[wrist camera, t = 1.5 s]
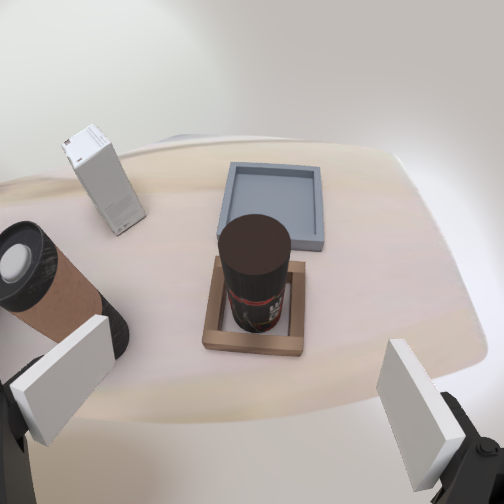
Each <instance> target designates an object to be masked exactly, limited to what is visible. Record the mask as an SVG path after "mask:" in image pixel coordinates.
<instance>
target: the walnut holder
mask: <svg viewBox="0 0 504 504" xmlns="http://www.w3.org/2000/svg"><path fill="white" fill-rule="evenodd" d="M286 283H291V289H290V311H289V330H288V336H274V335H260V334H247V333H236V332H225V331H221V328H222V321H223V313H224V306H225V299H226V292H227V287H226V282H225V278H224V273H223V268H222V264H221V259H220V256H216V257H215V263H214V269H213V275H212V281H211V287H210V293H209V299H208V305H207V311H206V318H205V324H204V330H203V337H202V343H203V345H204V346H205V348H206V349H212V350H222V351H231V352H242V353H254V354H267V355H282V356H300V355H301V353H302V351H303V340H304V311H305V262H300V261H289V265H288V272H287V278H286Z"/></svg>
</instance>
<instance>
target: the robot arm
mask: <svg viewBox="0 0 504 504" xmlns="http://www.w3.org/2000/svg"><path fill="white" fill-rule="evenodd" d="M115 365H116V362H115V357H114V351H113V345H112V339H111V333H110V326H109V319H108V316H102V315H96V314H95V315H94V316H93V317H92V318H90V319H89V320H88V321H86V322H85V323H84V324H83V325H81V326H80V327H79V328H78V329H76V330H75V331H74V332H73V333H71V334H70V335H69V336H68V337H66V338H65V339H64V340H63V341H62V342H60V343H59V344H58V345H57V346H55V347H54V348H53V349H52V350H51V351H49V352H48V353H47V354H46V355H42V356H40V357H38V358H35V359H33V360H32V361H31V362H30V363H29V364H27V366H25V367H24V368H23V369H21V371H19V372H18V373H17V374H15V375H14V376H13V377H12V378H11V379H9V380H8V381H7V382H6V383H5V384H3V385H2V383H1V380H0V504H37V503H36V498H35V493H34V488H33V482H32V476H31V470H30V462H29V454H28V445H27V439H26V437H25V433H26V432H27V431H28V430H29V431H30V433H31V435H32V437H33V439H34V440H35V441H37V442H39V443H41V444H43V445H45V446H47V447H48V446H49V444H50V443H51V442H52V441H53V440H54V438H55V437H56V436H57V435H58V433H59V432H60V431H61V430H62V429H63V427H64V426H65V425H66V423H67V422H68V421H69V420H70V419H71V417H72V416H73V415H74V414H75V413H76V411H77V410H78V409H79V408H80V406H81V405H82V404H83V403H84V402H85V400H86V399H87V398H88V397H89V396H90V394H91V393H92V392H93V391H94V390H95V388H96V387H97V386H98V385H99V384H100V382H101V381H102V380H103V379H104V378H105V376H106V375H107V374H108V373H109V372H110V370H111V369H112V368H113V367H114V366H115ZM376 389H377V391H378V394H379V396H380V399H381V401H382V404H383V407H384V409H385V412H386V414H387V417H388V420H389V422H390V425H391V428H392V430H393V433H394V436H395V439H396V441H397V444H398V447H399V449H400V453H401V455H402V458H403V461H404V464H405V467H406V470H407V473H408V476H409V479H410V482H411V485H412V488H413V491H414V492H417V491H421V490H426V489H431V488H433V487H434V485H435V484H436V482H437V481H438V479H439V478H440V480H441V483H442V487H441V489H440V490H439V491H438V493H437V494H436V495H435V497H434V498H433V499H432V500H431V503H432V504H504V448H500V446H499V444H498V443H497V442H495V441H494V440H492V439H490V438H487V437H481V436H480V435H479V433H478V432H477V430H476V428H475V427H474V425H473V424H472V422H471V421H470V419H469V418H468V416H467V415H466V413H465V411H464V410H463V409H462V408H461V405H460V404H459V402H458V401H457V399H456V398H455V397H453V396H452V395H451V394H449V393H448V392H441V393H439V391H438V390H437V388H436V386H435V385H434V383H433V382H432V380H431V379H430V377H429V376H428V374H427V373H426V371H425V370H424V368H423V366H422V365H421V363H420V362H419V360H418V359H417V358H416V356H415V355H414V353H413V352H412V350H411V349H410V347H409V346H408V344H407V343H406V341H405V340H404V339H389V341H388V345H387V349H386V353H385V357H384V361H383V365H382V368H381V372H380V376H379V379H378V383H377V386H376Z"/></svg>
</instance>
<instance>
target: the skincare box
mask: <svg viewBox="0 0 504 504" xmlns="http://www.w3.org/2000/svg"><path fill="white" fill-rule="evenodd" d="M61 146H62V148H63V150H64V152H65V154H66V156H67V158H68V160H69V162H70V164H71V165H72V167H73V169H74V171H75V173H76V175H77V177H78V179H79V180H80V182H81V184H82V185H83V187H84V189H85V190H86V192H87V194H88V195H89V197H90V199H91V200H92V202H93V204H94V205H95V207H96V208H97V210H98V211H99V213H100V214H101V216H102V217H103V218H104V220H105V221H106V222H107V224H108V225H109V226H110V228H111V229H112V230H113V232H114V233H115V235H116V236H118V235H119V234H121V233H122V232H123V231H125V230H126V229H128V228H129V227H131V226H132V225H134V224H135V223H137V222H138V221H140V220H141V219H143V218H144V217H145V216H146V214H145V212H144V210H143V208H142V206H141V204H140V202H139V200H138V198H137V196H136V194H135V192H134V190H133V188H132V186H131V184H130V182H129V180H128V178H127V176H126V174H125V172H124V170H123V168H122V165H121V163H120V161H119V159H118V157H117V155H116V153H115V150H114V148H113V146H112V143H111V142H110V140H109V139H108V138H107V137H106V136H105V135H104V134H103V133H102V131H101V130H99V128H98V127H97V126H96V125H95V124H94V123H92V124H91V125H89V126H87V127H86V128H84V129H83V130H81V131H80V132H78V133H77V134H75V135H74V136H72V137H71V138H69V139H68V140H67V141H65V142H64V143H63V144H61Z"/></svg>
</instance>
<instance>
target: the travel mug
mask: <svg viewBox="0 0 504 504" xmlns="http://www.w3.org/2000/svg"><path fill="white" fill-rule="evenodd" d="M0 306H2V307H3V308H5V309H6V310H7V311H9V312H10V313H12V314H13V315H15V316H16V317H17V318H19V319H20V320H22V321H23V322H25V323H26V324H28V325H29V326H31V327H32V328H34V329H36V330H37V331H39V332H40V333H42V334H43V335H45V336H47V337H48V338H50V339H52V340H53V341H55V342H57V343H58V344H59V343H60V342H62V341H63V340H64V339H65V338H66V337H68V336H69V335H70V334H71V333H73V332H74V331H75V330H76V329H78V328H79V327H80V326H81V325H83V324H84V323H85V322H86V321H88V320H89V319H90V318H92V317H93V316H94V315H95V314H96V315H102V316H108V319H109V326H110V333H111V339H112V345H113V351H114V357H115V360H116V359H117V358H119V357H120V356H121V355H122V354H123V352H124V351H125V349H126V347H127V345H128V341H129V330H128V326H127V324H126V322H125V320H124V319H123V318H122V316H121V315H120V314H119V313H118V312H117V311H116V310H115V309H114V308H113V307H112V306H111V304H110V303H109V302H108V301H107V300H106V299H105V298H104V297H103V296H102V294H101V293H100V292H99V291H98V290H97V289H96V288H95V287H94V286H93V285H92V284H91V283H90V282H89V281H88V280H87V279H86V278H85V277H84V275H83V274H82V273H81V272H80V271H79V270H78V269H77V268H76V267H75V266H74V265H73V264H72V263H71V262H70V261H69V260H68V258H67V257H66V256H65V255H64V254H63V253H62V252H61V251H60V250H59V248H58V247H57V246H56V245H55V244H54V243H53V242H52V241H51V239H50V238H49V237H48V236H47V235H46V234H45V232H44V231H43V230H42V229H41V228H40V227H39V226H38V225H37V224H36V223H33V222H30V221H21V222H18V223H15V224H13V225H11V226H10V227H8V228H7V229H5V230H4V231H3V232H2V233H1V234H0Z"/></svg>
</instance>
